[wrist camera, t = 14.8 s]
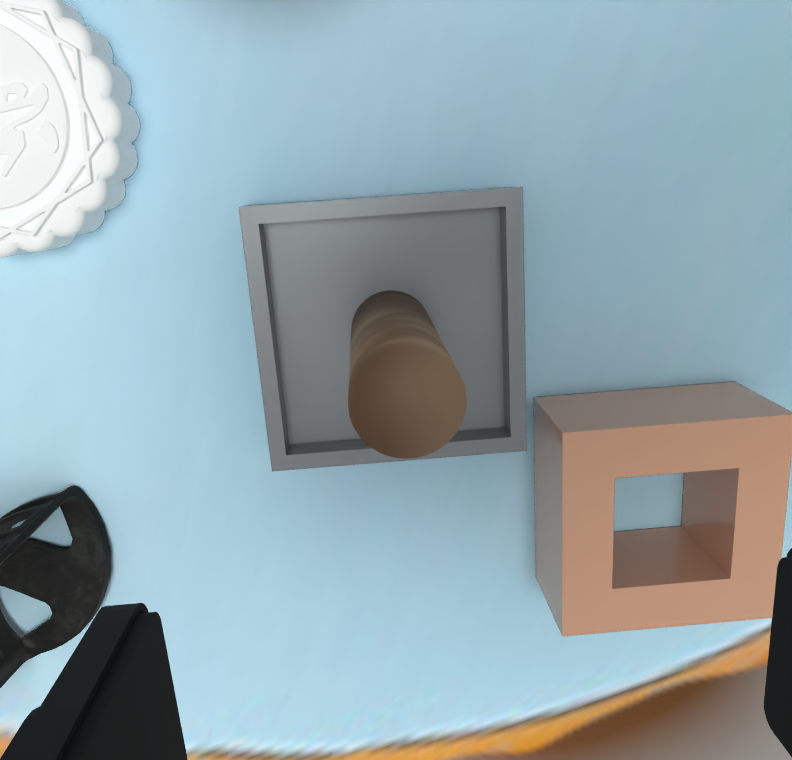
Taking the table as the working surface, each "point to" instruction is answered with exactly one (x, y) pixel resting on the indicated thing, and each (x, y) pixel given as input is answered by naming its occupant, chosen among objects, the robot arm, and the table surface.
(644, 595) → the well block
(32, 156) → the mooncake
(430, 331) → the dowel pin
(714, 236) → the table surface
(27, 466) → the table surface
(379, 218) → the tray
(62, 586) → the holder
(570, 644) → the table surface
